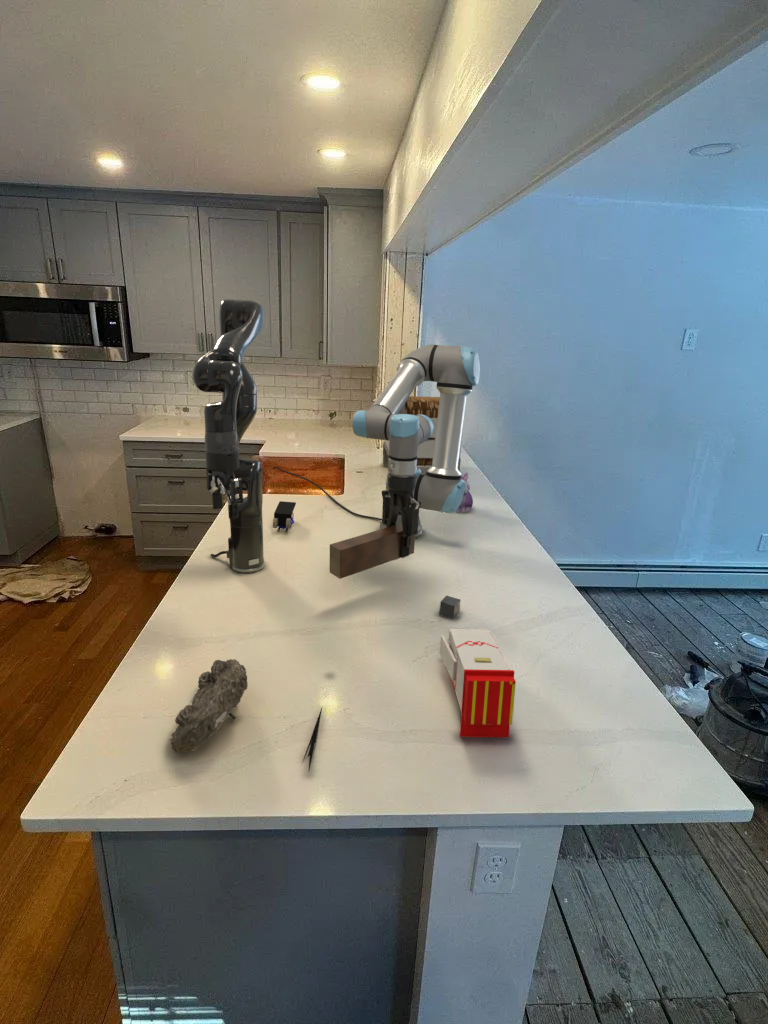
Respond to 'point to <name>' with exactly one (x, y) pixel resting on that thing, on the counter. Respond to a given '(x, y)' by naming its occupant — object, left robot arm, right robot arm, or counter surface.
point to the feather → (313, 740)
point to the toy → (479, 682)
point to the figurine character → (284, 515)
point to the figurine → (465, 497)
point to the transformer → (426, 448)
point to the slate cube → (449, 607)
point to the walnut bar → (367, 551)
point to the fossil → (210, 704)
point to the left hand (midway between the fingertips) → (225, 513)
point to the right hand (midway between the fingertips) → (398, 553)
